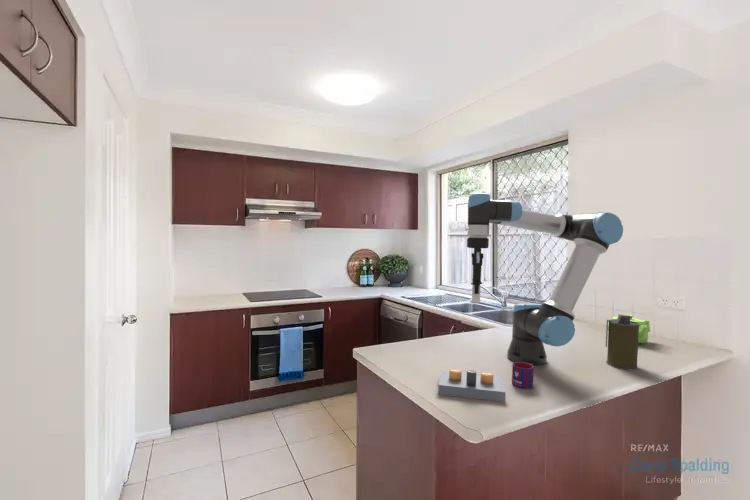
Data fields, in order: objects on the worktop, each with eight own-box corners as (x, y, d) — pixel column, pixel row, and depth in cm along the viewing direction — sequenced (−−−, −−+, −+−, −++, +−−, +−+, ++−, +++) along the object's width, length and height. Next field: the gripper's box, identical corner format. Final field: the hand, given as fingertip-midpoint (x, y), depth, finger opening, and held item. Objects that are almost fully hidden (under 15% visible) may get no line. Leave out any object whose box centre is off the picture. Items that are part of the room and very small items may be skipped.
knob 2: (492, 388, 121) (492, 372, 120) (493, 393, 117) (494, 376, 117) (479, 387, 122) (480, 371, 121) (480, 392, 118) (480, 375, 117)
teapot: (665, 348, 171) (667, 320, 171) (622, 347, 172) (623, 319, 171) (637, 337, 190) (639, 312, 189) (598, 336, 190) (600, 311, 189)
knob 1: (461, 385, 123) (461, 369, 123) (461, 390, 119) (461, 373, 119) (449, 384, 124) (449, 368, 124) (448, 388, 120) (449, 372, 120)
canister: (632, 362, 150) (634, 314, 149) (641, 371, 140) (644, 319, 139) (602, 359, 154) (604, 311, 153) (609, 367, 144) (611, 316, 143)
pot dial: (475, 383, 118) (476, 370, 118) (476, 387, 115) (476, 374, 115) (466, 382, 119) (466, 369, 118) (466, 386, 116) (466, 373, 115)
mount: (500, 385, 124) (500, 376, 124) (505, 401, 112) (505, 392, 112) (440, 378, 129) (440, 370, 129) (438, 394, 116) (438, 384, 116)
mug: (507, 383, 126) (508, 363, 126) (526, 378, 131) (526, 359, 131) (524, 390, 120) (525, 370, 120) (543, 384, 126) (544, 365, 125)
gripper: (466, 236, 139) (464, 298, 140) (467, 236, 126) (465, 305, 127) (487, 237, 137) (485, 300, 138) (490, 237, 124) (488, 306, 125)
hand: (475, 302), depth 133 cm, fingers closed
